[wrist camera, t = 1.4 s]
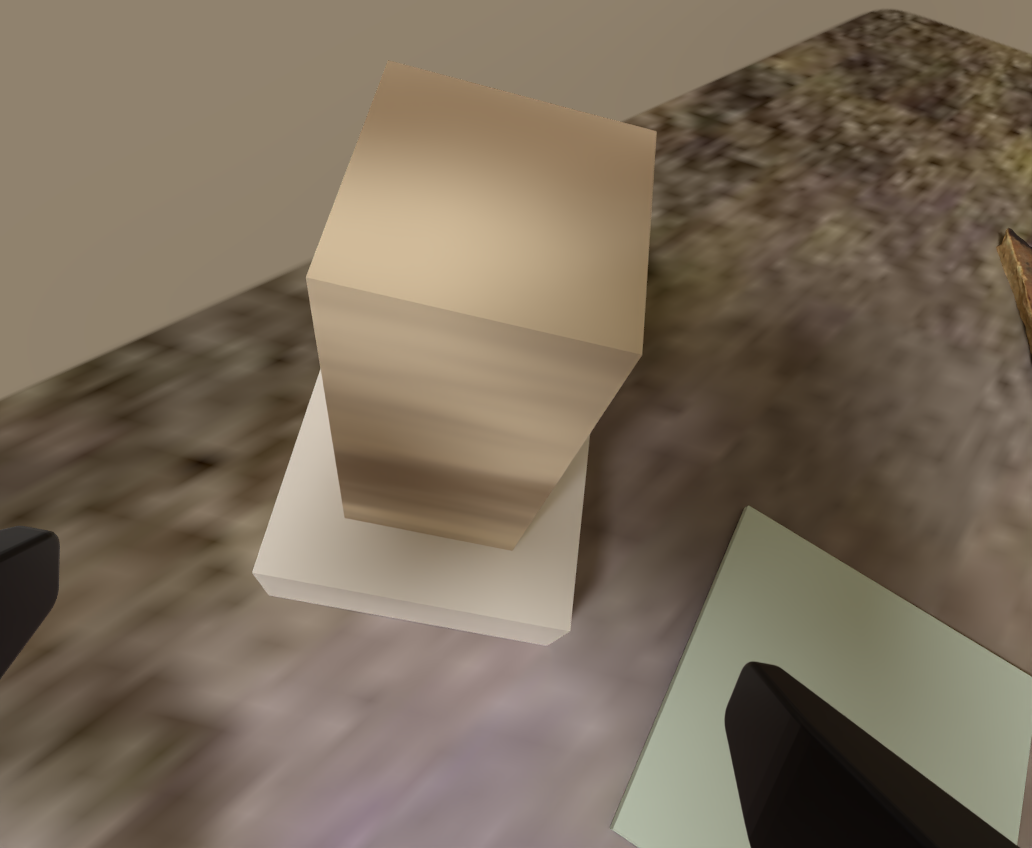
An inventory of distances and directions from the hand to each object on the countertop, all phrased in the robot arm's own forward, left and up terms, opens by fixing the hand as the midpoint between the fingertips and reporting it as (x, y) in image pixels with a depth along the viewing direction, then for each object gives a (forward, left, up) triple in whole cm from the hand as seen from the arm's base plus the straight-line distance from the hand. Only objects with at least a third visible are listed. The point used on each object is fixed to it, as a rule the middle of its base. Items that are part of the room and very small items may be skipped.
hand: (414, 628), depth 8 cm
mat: (+6, -13, -13) cm, 20 cm away
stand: (+6, +3, -13) cm, 15 cm away
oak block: (+6, +3, -10) cm, 12 cm away
